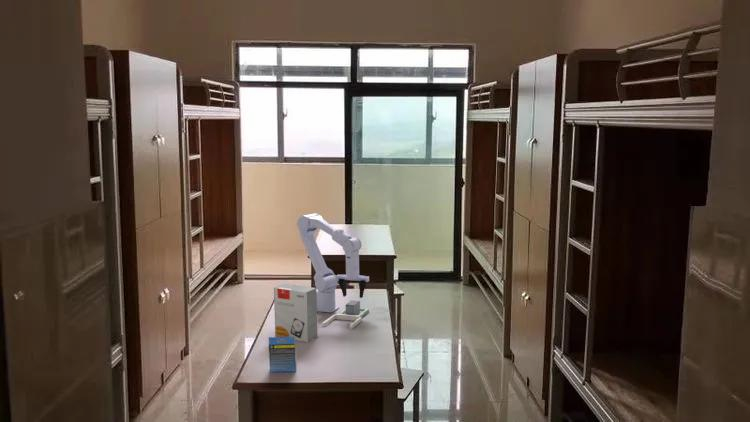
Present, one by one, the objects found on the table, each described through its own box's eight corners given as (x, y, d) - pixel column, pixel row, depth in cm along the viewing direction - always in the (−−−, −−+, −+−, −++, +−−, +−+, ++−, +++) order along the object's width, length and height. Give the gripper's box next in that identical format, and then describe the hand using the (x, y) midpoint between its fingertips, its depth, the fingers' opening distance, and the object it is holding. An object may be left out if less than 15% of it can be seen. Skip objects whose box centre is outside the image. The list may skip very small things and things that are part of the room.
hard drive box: (274, 337, 258) (272, 287, 255) (285, 331, 265) (284, 283, 262) (307, 342, 251) (306, 291, 248) (318, 336, 257) (317, 287, 255)
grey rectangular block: (345, 315, 283) (345, 304, 282) (351, 311, 289) (351, 300, 289) (354, 316, 281) (354, 305, 281) (360, 312, 288) (359, 301, 287)
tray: (337, 317, 282) (337, 314, 282) (347, 310, 293) (347, 306, 293) (359, 319, 279) (359, 316, 278) (368, 311, 290) (368, 308, 290)
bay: (322, 326, 270) (322, 321, 270) (333, 318, 281) (333, 313, 281) (351, 329, 266) (351, 324, 266) (361, 320, 277) (361, 316, 277)
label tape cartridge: (297, 367, 225) (295, 332, 224) (296, 371, 221) (294, 336, 220) (270, 368, 225) (269, 333, 223) (269, 372, 221) (268, 337, 219)
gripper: (333, 267, 282) (334, 297, 283) (365, 269, 277) (365, 300, 279) (339, 263, 288) (340, 293, 290) (370, 265, 283) (371, 296, 285)
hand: (353, 296), depth 285 cm, fingers open, 7 cm apart
